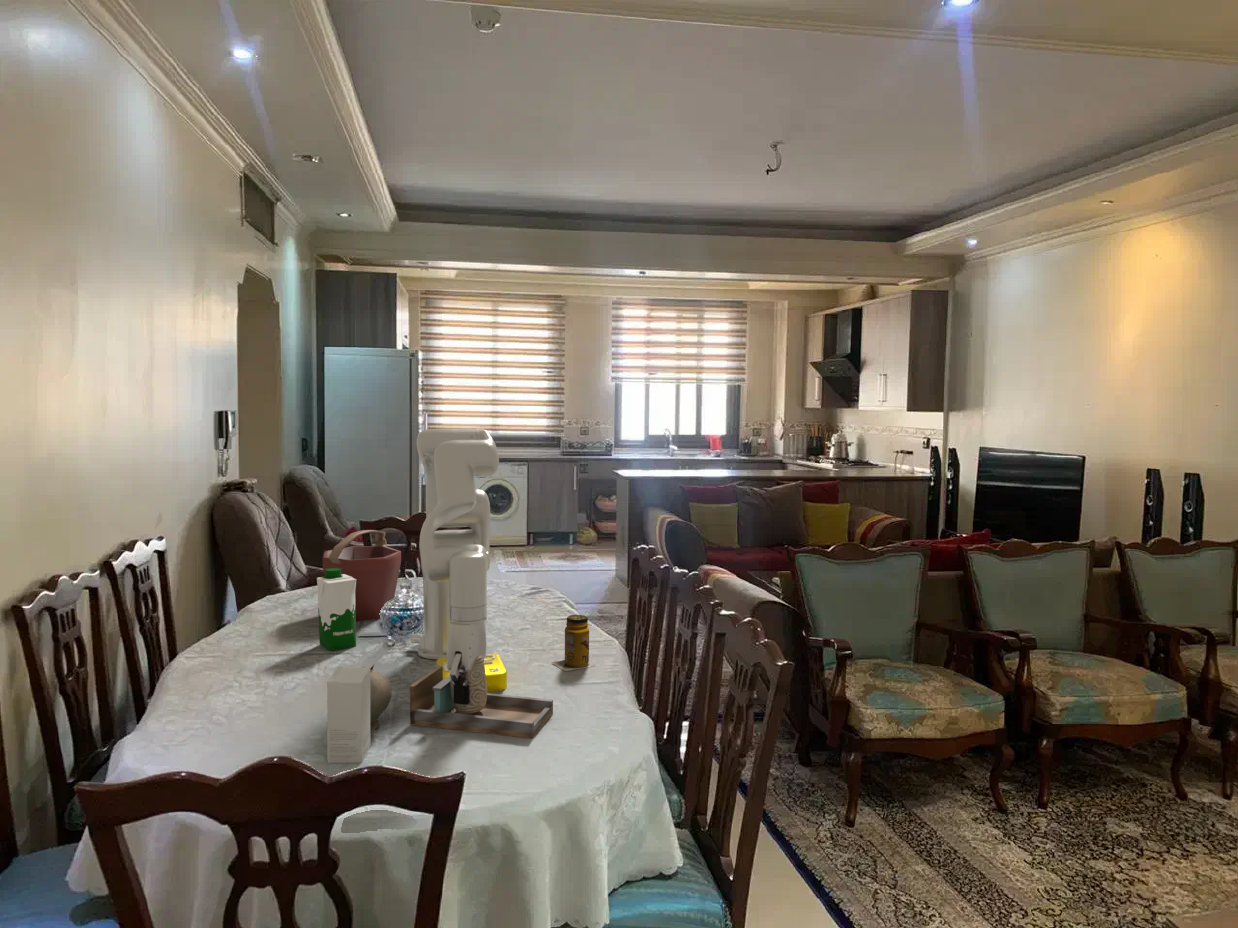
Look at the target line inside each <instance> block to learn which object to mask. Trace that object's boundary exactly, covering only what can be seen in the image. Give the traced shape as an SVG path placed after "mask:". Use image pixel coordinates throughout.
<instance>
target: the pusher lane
mask: <svg viewBox="0 0 1238 928" xmlns="http://www.w3.org/2000/svg"><path fill="white" fill-rule="evenodd" d="M442 680H443V666H437V667H436V666H435V668H433V669H431V670H430V671H429V672H427V673H426V674H425V675H423V676H422V677H420V678H419V679H417V680H416V681H415V682H413V683H412V684H410V685H409V725H412V726H420V727H430V728H438V729H447V730H455V731H462V732H463V731H465V732H474V733H480V734H489V735H490V734H491V735H499V736H508V737H515V738H516V737H517V738H523V739H524V738H525V739H533V738H534V737H535V736H536V735H537V733H538V732H539V731H540V730H541V729H542V728H543V726H545V724H546V723H547V721H548V720H549V719H550V718H551V717H552V716H553V714H554V699H547V698H538V697H528V696H518V695H508V694H507V695H506V694H499V693H490V692H487V701H486V705H485V707H484V708H483V709H482V710H480V711H478V712H475V713H471V714H461V713H458V712H457V711H456V709H455V706H454V707H453V708H452V709H451V710H449V711H448V712H442V711H435V706H434V691H433V687H434V686H435V685H437V684H438V683H439V682H441V681H442Z"/></svg>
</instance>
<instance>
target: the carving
mask: <svg viewBox="0 0 1238 928" xmlns="http://www.w3.org/2000/svg"><path fill="white" fill-rule="evenodd" d="M460 669H463V670H464V669H465V666H460ZM459 675H462V677H463V678H464V673H460V672H459ZM467 685H469V704H468V705H464V704H455V703H454V706H455V709H456V711H457V712H458V713H461V714H471V713H475V712H478V711H480V710H482V709H483V708H484V707H485V705H486V701H487V693H488V692H487V684H486V673H485V666H484V662H483V657H482V655H480V656H478V657H477V658H476V659H475V662H474V665H473V669H472V670H470V671H469V677H468V684H467ZM450 687H451V695H452V701H453V702H454V685H453V681H452V678H451V679H450Z"/></svg>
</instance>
